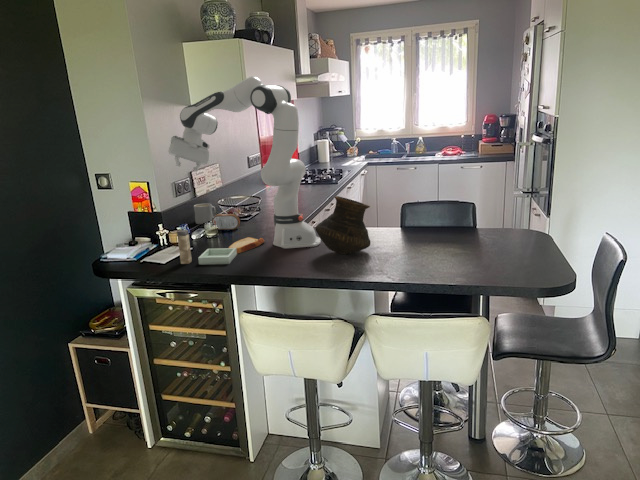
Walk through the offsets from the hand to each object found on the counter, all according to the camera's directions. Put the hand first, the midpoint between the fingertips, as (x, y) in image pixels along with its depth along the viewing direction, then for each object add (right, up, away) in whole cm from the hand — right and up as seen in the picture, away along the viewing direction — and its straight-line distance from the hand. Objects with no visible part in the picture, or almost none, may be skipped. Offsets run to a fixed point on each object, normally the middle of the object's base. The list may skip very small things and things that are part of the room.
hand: (186, 168), depth 235 cm
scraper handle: (+8, -44, -29) cm, 54 cm away
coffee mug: (-1, -24, +46) cm, 52 cm away
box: (+21, -43, -27) cm, 55 cm away
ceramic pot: (+75, -41, -27) cm, 90 cm away
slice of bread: (+31, -39, -10) cm, 50 cm away
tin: (+15, -29, +25) cm, 41 cm away
